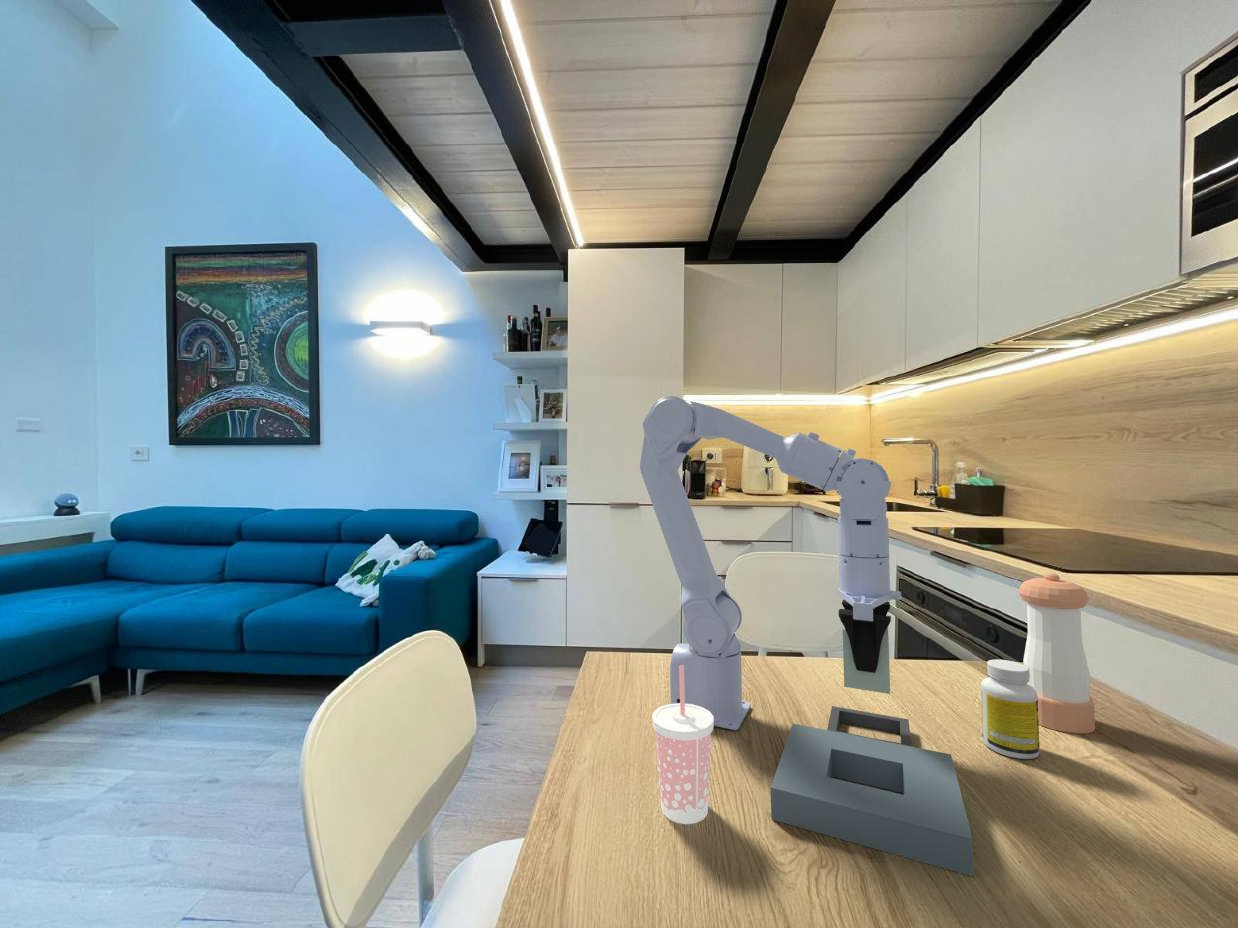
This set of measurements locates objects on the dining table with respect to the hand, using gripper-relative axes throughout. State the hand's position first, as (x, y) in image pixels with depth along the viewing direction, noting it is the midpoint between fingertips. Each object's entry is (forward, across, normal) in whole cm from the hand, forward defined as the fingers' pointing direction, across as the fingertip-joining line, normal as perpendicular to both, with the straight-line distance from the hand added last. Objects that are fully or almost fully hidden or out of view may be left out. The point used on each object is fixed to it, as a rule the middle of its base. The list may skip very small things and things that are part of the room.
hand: (866, 664), depth 63 cm
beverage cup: (+9, -22, +16) cm, 29 cm away
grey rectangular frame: (+9, 0, 0) cm, 9 cm away
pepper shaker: (+9, +16, -22) cm, 28 cm away
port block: (+9, -14, 0) cm, 16 cm away
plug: (+2, 0, 0) cm, 2 cm away
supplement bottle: (+9, +4, -15) cm, 18 cm away
